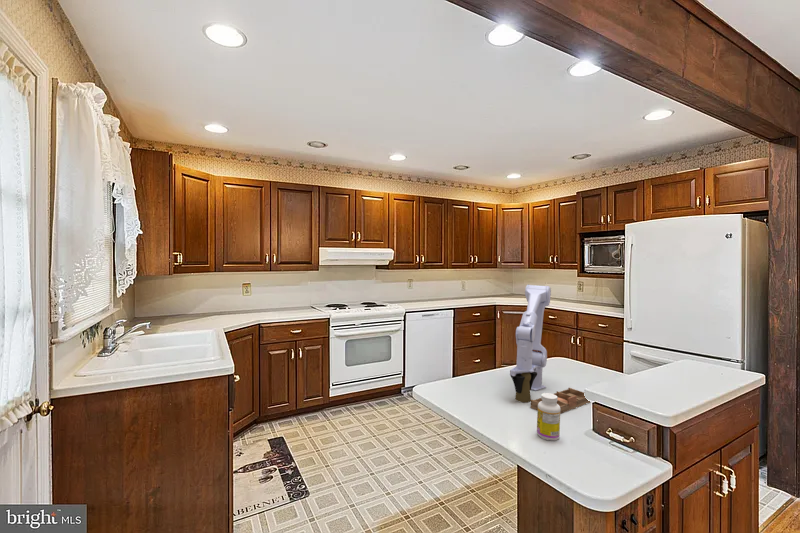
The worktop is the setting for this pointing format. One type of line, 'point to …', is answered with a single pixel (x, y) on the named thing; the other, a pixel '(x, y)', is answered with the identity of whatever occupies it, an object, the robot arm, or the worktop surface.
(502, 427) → the worktop surface
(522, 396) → the olive bulbous cylinder
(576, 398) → the spice rack
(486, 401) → the worktop surface
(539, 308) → the robot arm
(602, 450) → the worktop surface
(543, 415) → the supplement bottle
